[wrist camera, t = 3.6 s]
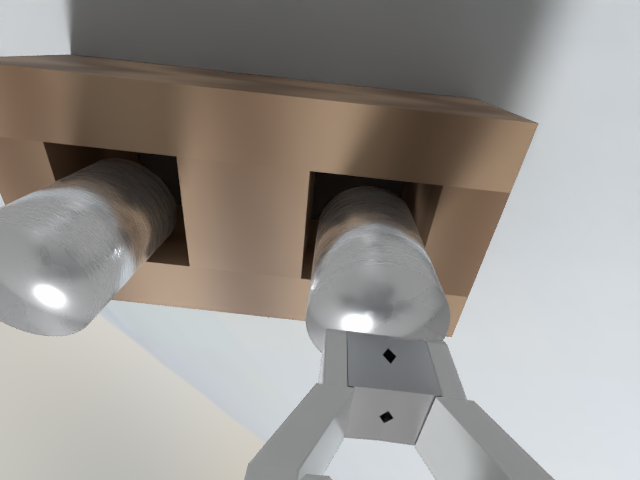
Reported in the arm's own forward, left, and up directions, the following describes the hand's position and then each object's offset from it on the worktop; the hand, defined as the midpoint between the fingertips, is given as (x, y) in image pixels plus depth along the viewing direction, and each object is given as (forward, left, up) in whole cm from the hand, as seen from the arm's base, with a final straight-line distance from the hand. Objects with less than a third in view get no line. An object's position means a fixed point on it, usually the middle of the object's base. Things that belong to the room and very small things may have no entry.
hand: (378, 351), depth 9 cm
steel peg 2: (0, 0, -7) cm, 7 cm away
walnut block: (-4, -3, -12) cm, 13 cm away
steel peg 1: (-8, -6, -7) cm, 12 cm away
